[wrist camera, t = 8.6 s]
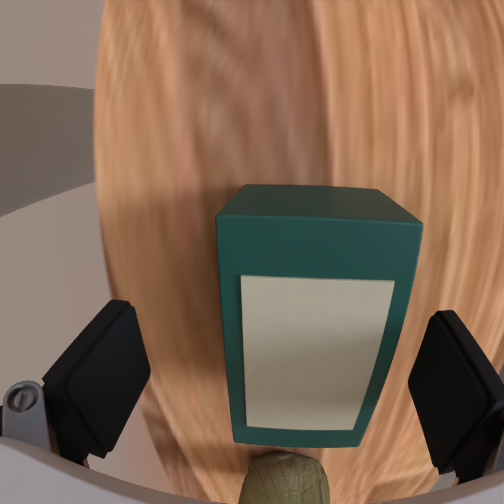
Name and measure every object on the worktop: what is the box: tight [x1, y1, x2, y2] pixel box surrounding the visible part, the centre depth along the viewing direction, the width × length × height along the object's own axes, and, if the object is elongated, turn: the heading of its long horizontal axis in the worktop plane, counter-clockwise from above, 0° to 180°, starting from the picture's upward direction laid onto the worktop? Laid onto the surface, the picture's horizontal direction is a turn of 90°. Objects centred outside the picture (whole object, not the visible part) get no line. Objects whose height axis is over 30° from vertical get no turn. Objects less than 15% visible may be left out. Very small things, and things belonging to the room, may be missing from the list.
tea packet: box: [215, 184, 423, 448], centre depth 10 cm, size 9×5×5 cm, turn 1°
